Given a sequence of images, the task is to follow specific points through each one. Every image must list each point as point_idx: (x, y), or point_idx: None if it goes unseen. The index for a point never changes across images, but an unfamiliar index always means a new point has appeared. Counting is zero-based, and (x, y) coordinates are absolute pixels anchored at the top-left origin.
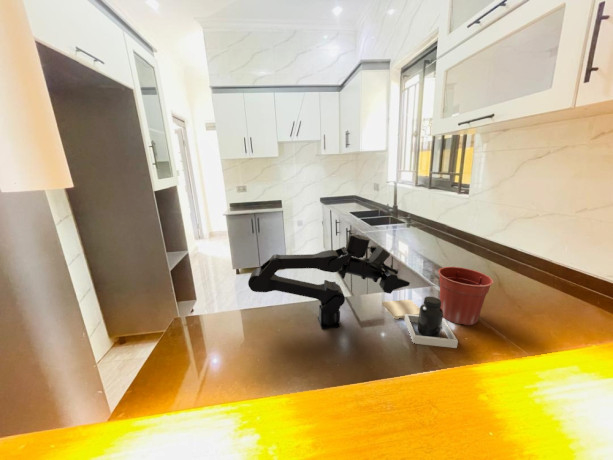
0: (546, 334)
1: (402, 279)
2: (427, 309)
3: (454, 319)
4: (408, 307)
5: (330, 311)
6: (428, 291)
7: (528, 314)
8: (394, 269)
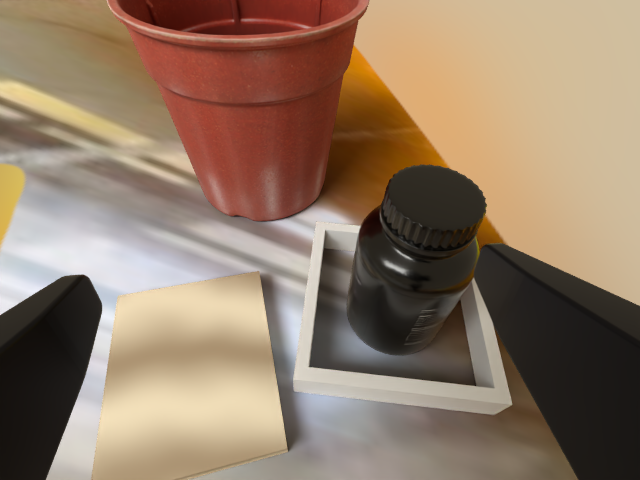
0: (343, 75)
1: (631, 320)
2: (459, 259)
3: (312, 194)
4: (197, 331)
5: None
6: (60, 194)
7: None
8: (28, 318)
